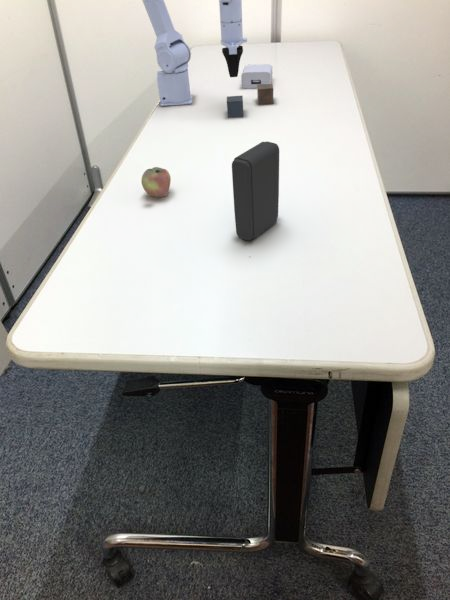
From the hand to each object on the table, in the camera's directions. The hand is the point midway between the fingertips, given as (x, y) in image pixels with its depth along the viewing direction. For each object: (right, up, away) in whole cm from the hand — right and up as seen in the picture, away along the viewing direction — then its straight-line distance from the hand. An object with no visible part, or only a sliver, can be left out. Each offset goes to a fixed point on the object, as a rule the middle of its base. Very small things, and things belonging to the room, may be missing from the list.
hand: (233, 76), depth 130 cm
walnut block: (+10, -4, +7) cm, 12 cm away
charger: (+9, +9, +23) cm, 26 cm away
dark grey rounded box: (+4, -50, -45) cm, 67 cm away
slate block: (+1, -10, +1) cm, 10 cm away
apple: (-16, -41, -32) cm, 55 cm away
